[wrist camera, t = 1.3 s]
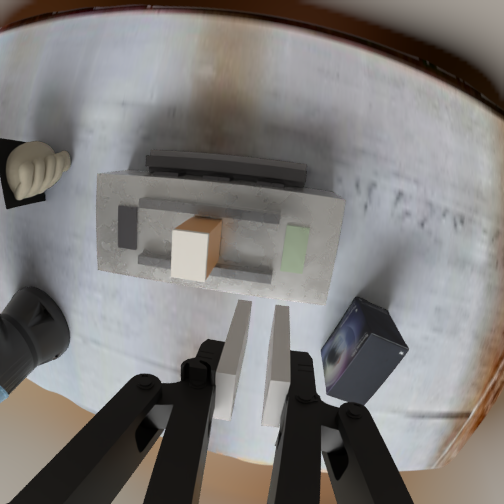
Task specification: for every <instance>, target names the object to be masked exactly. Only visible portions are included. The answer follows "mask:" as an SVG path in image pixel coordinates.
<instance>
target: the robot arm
mask: <svg viewBox="0 0 504 504" xmlns="http://www.w3.org/2000/svg"><path fill="white" fill-rule="evenodd" d="M251 306H252V301H245V300H238V303H237V306H236V309H235V313H234V316H233V319H232V322H231V325H230V329H229V332H228V335H227V338H226V341H225V342H222V341H216V340H210V339H207V340H206V341H205V342H203V343H202V344H201V346H200V348H199V351H198V353H197V355H196V357H195V358H191V359H187V360H186V361H184V362H183V363H182V364H181V381H180V382H176V383H161V381H160V380H159V378H158V377H156V376H154V375H151V374H139V375H136V376H134V377H133V378H131V379H130V380H129V381H128V382H127V383H126V384H125V385H124V386H123V387H122V388H121V390H120V391H119V392H118V393H117V394H116V395H115V396H114V397H113V398H112V399H111V400H110V401H109V402H108V403H107V404H106V405H105V406H104V407H103V408H102V409H101V410H100V411H99V412H98V413H97V414H96V415H95V416H94V417H93V418H92V419H91V420H90V421H89V422H88V423H87V424H86V426H84V427H83V428H82V429H81V430H80V431H79V432H78V433H77V434H76V435H75V436H74V438H72V439H71V441H70V442H69V443H68V444H67V445H66V446H65V447H64V448H63V449H62V450H61V451H60V452H59V453H58V454H57V455H56V456H55V457H54V458H53V459H52V460H51V461H50V462H49V463H48V464H47V465H46V466H45V467H44V468H43V469H42V470H41V471H40V472H39V473H38V474H37V475H36V476H35V477H34V478H33V479H32V480H31V481H30V482H29V483H28V485H26V486H25V487H24V488H23V489H22V491H20V492H19V493H18V495H16V496H15V497H14V498H13V500H12V501H11V502H9V503H7V504H111V502H112V501H113V500H114V498H115V497H116V496H117V494H118V493H119V492H120V490H121V489H122V488H123V486H124V485H125V483H126V482H127V481H128V479H129V478H130V477H131V475H132V473H134V471H135V470H136V469H137V467H138V466H139V464H140V463H141V462H142V460H143V459H144V457H145V456H146V455H147V453H148V452H149V450H150V449H151V448H152V446H153V445H154V444H155V442H156V441H157V439H158V438H159V436H160V435H161V434H162V432H163V431H164V429H166V430H165V433H164V436H163V439H162V442H161V446H160V449H159V452H158V455H157V459H156V462H155V465H154V468H153V472H152V475H151V479H150V482H149V485H148V489H147V492H146V495H145V499H144V503H143V504H198V503H199V497H200V491H201V485H202V479H203V473H204V467H205V461H206V455H207V449H208V443H209V437H210V431H211V423H212V416H213V418H215V419H221V420H227V421H231V416H232V411H233V407H234V402H235V397H236V392H237V387H238V383H239V378H240V373H241V368H242V363H243V358H244V353H245V348H246V344H247V337H248V329H249V321H250V314H251ZM69 341H70V336H69V330H68V326H67V323H66V321H65V318H64V316H63V314H62V313H61V311H60V309H59V308H58V306H57V305H56V304H55V302H54V301H53V300H52V299H51V298H50V297H49V296H48V295H47V294H46V293H44V292H43V291H41V290H39V289H37V288H35V287H25V288H23V289H21V290H20V291H18V292H17V293H15V294H14V296H13V297H12V299H11V301H10V302H9V303H8V305H7V306H6V307H5V309H4V310H3V312H2V313H1V314H0V403H1V402H2V401H3V400H5V399H6V398H8V396H9V394H10V393H11V392H12V391H13V390H14V389H15V388H16V387H17V386H18V385H19V384H20V383H21V382H22V381H23V380H24V379H25V378H26V377H27V376H28V375H29V374H30V373H31V372H32V371H33V370H34V369H35V368H36V367H37V366H39V365H41V364H44V363H47V362H49V361H52V360H55V359H57V358H59V357H60V356H61V355H62V354H63V353H64V352H65V351H66V350H67V348H68V346H69ZM279 425H280V430H279V434H278V437H277V441H276V444H275V446H276V451H275V458H274V464H273V471H272V476H271V483H270V488H269V495H268V500H267V504H319V503H320V477H321V476H320V475H321V451H322V455H323V458H324V461H325V465H326V468H327V471H328V475H329V477H330V481H331V484H332V488H333V491H334V494H335V498H336V501H337V504H414V503H413V501H412V498H411V496H410V494H409V492H408V490H407V488H406V486H405V484H404V482H403V480H402V477H401V475H400V473H399V471H398V469H397V467H396V465H395V463H394V461H393V459H392V457H391V455H390V453H389V451H388V448H387V446H386V444H385V442H384V440H383V438H382V436H381V434H380V432H379V430H378V428H377V426H376V424H375V422H374V420H373V418H372V416H371V414H370V412H369V411H368V409H367V408H366V407H365V406H363V405H362V404H359V403H356V402H347V403H344V404H342V405H341V406H340V408H338V407H335V406H331V405H329V404H326V403H324V402H323V401H322V400H321V399H320V396H319V395H318V394H317V393H316V386H315V377H314V368H313V359H312V358H311V356H310V355H309V354H308V352H300V351H291V350H290V322H289V306H281V305H276V306H275V312H274V318H273V324H272V330H271V336H270V342H269V350H268V361H267V372H266V382H265V393H264V403H263V413H262V423H261V426H270V427H279Z"/></svg>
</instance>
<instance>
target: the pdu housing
mask: <svg viewBox="0 0 504 504" xmlns="http://www.w3.org/2000/svg"><path fill="white" fill-rule="evenodd" d="M345 202H346V200H345V199H344V198H342V197H341V196H339V195H337V194H336V193H334V192H330V191H324V190H318V189H311V188H305V187H304V188H301V187H295V186H287V185H284V183H282V182H274V181H266V180H258V181H248V180H239V179H234V177H232V176H223V175H212V174H208V175H204V176H200V175H189V174H186V172H178V171H164V170H163V171H155V172H149V171H138V170H123V171H115V172H107V173H99V174H97V199H96V232H97V261H98V270H101V271H106V272H112V273H117V274H122V275H128V276H133V277H138V278H144V279H150V280H155V281H161V282H167V283H173V284H178V285H185V286H191V287H197V288H203V289H209V290H216V291H222V292H229V293H236V294H242V295H249V296H256V297H263V298H271V299H278V300H286V301H293V302H301V303H309V304H317V305H326V300H327V296H328V291H329V287H330V282H331V277H332V272H333V268H334V263H335V258H336V253H337V247H338V242H339V237H340V231H341V226H342V220H343V214H344V208H345ZM193 216H194V217H203V218H211V219H219V220H222V228H221V239H220V251H219V260H218V262H217V263H216V265H215V267H214V268H213V270H212V271H211V273H210V275H209V276H208V278H207V280H206V281H205V282H199V281H192V280H186V279H180V278H174V277H171V254H172V230H173V229H175V228H176V227H178V226H179V225H181V224H182V223H184V222H185V221H187V220H188V219H190V218H191V217H193Z"/></svg>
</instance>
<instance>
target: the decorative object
mask: <svg viewBox="0 0 504 504" xmlns="http://www.w3.org/2000/svg"><path fill="white" fill-rule="evenodd" d="M70 165H71V161H70V156H69V153H68V152H67V151H61V152H60V153H56V154H55V153H54V151H53V149H52V148H51V147H50V146H49V145H47V144H45V143H43V142H39V141H33V142H21V141H15V140H8V139H2V138H0V177H1V184H2V189H3V195H4V200H5V205H6V209H10V208H14V207H18V206H23V205H27V204H32V203H36V202H41V201H45V196H44V191H45V190H46V189H47V188H50V187H52V186H53V185H54V184H55V183H56V182H57V181H58V180H59V179H60V178H61V176H62V173H63V172H65V171H67V170H69V168H70Z"/></svg>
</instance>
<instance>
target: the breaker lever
mask: <svg viewBox="0 0 504 504" xmlns="http://www.w3.org/2000/svg"><path fill="white" fill-rule="evenodd" d="M221 228H222V220H219V219H211V218H203V217H194V216H193V217H191V218H190V219H188V220H187V221H185V222H184V223H182V224H181V225H179V226H178V227H176V228H175V229H173V230H172V254H171V277H174V278H180V279H186V280H192V281H199V282H205V281H206V280H207V278H208V276H209V275H210V273H211V271H212V270H213V268H214V267H215V265H216V263H217V262H218V260H219V251H220V239H221Z"/></svg>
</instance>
